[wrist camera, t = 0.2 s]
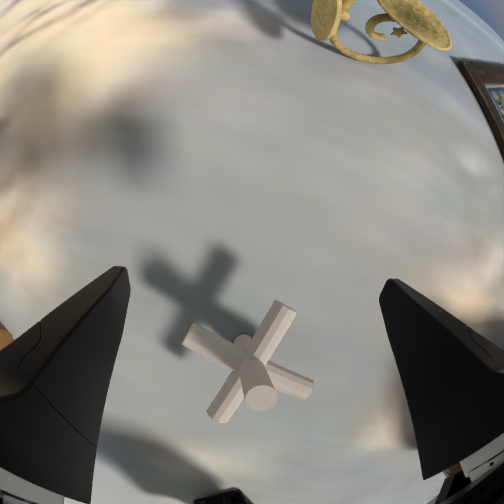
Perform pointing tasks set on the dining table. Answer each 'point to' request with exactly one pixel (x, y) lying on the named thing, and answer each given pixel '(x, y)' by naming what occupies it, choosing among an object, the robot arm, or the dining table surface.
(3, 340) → the pin
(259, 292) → the dining table surface
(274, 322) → the pipe connector
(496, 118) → the religious icon
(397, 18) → the wall sconce
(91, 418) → the robot arm
